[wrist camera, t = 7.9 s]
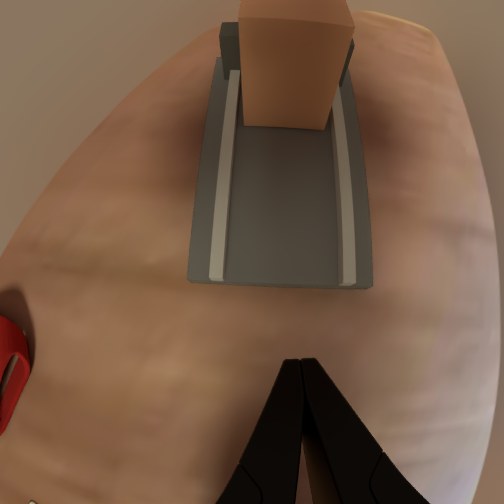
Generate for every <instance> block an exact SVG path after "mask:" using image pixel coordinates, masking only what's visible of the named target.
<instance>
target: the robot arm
mask: <svg viewBox="0 0 504 504" xmlns="http://www.w3.org/2000/svg"><path fill="white" fill-rule="evenodd" d="M301 443H303V448H304V454H305V460H306V465H307V471H308V477H309V482H310V488H311V494H312V500H313V504H430V503H429V502H428V501H427V500H426V499H425V498H424V497H423V496H422V495H421V494H420V493H419V492H418V491H417V490H416V489H415V488H414V487H413V486H412V485H411V484H410V483H409V482H408V481H407V480H406V479H405V477H404V476H403V475H402V474H401V473H400V471H399V470H398V469H397V468H396V466H395V465H394V464H393V463H392V461H391V460H390V459H389V457H388V456H387V455H386V453H385V452H383V449H382V448H381V447H380V445H379V444H378V443H377V441H376V440H375V439H374V437H373V436H372V434H371V433H370V432H369V430H368V429H367V428H366V426H365V425H364V424H363V422H362V421H361V419H360V418H359V417H358V415H357V414H356V413H355V411H354V410H353V409H352V407H351V406H350V404H349V403H348V402H347V400H346V399H345V398H344V396H343V395H342V393H341V392H340V391H339V389H338V388H337V387H336V385H335V384H334V382H333V381H332V380H331V378H330V377H329V376H328V374H327V373H326V371H325V370H324V369H323V367H322V366H321V365H320V363H319V362H318V360H317V359H315V358H302V359H301V360H299V359H285V360H284V361H283V363H282V366H281V368H280V371H279V373H278V376H277V378H276V380H275V383H274V385H273V387H272V390H271V392H270V394H269V397H268V399H267V401H266V404H265V406H264V408H263V411H262V413H261V415H260V417H259V420H258V422H257V424H256V426H255V429H254V431H253V433H252V435H251V437H250V439H249V442H248V444H247V446H246V448H245V450H244V452H243V454H242V456H241V459H240V461H239V464H238V465H237V466H236V468H235V471H234V473H233V475H232V477H231V478H230V480H229V482H228V484H227V486H226V487H225V489H224V491H223V493H222V494H221V496H220V497H219V499H218V500H217V502H216V503H215V504H295V500H296V492H297V483H298V474H299V464H300V454H301Z"/></svg>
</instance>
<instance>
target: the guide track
mask: <svg viewBox="0 0 504 504" xmlns="http://www.w3.org/2000/svg"><path fill="white" fill-rule="evenodd" d="M219 39H220V48H221V56H222V57H217V59H216V64H215V70H214V75H213V81H212V86H211V92H210V98H209V104H208V110H207V116H206V122H205V129H204V135H203V142H202V149H201V156H200V163H199V170H198V178H197V186H196V194H195V202H194V211H193V220H192V229H191V239H190V249H189V260H188V271H187V280H189V281H190V282H191V283H206V284H225V285H246V286H269V287H296V288H331V289H367V288H370V287H372V286H373V264H372V242H371V226H370V212H369V200H368V190H367V180H366V172H365V163H364V155H363V148H362V141H361V134H360V128H359V122H358V116H357V110H356V104H355V99H354V93H353V88H352V83H351V78H350V74H349V69H348V65H349V62H350V58H351V55H352V52H353V49H354V42H353V39H352V40H351V43H350V47H349V50H348V54H347V57H346V60H345V64H344V67H343V70H342V74H341V77H340V80H339V84H338V87H337V90H336V93H335V97H334V100H333V103H332V106H331V110H330V113H329V116H328V119H327V122H326V126H325V129H324V130H314V129H301V128H286V127H267V126H244V116H243V98H242V80H241V62H240V43H239V25H238V22H225V23H222V25H221V30H220V34H219Z"/></svg>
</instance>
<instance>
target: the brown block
mask: <svg viewBox="0 0 504 504" xmlns="http://www.w3.org/2000/svg"><path fill="white" fill-rule="evenodd" d="M238 25H239V43H240V62H241V80H242V98H243V116H244V126H267V127H286V128H301V129H314V130H324V129H325V126H326V122H327V119H328V116H329V113H330V110H331V106H332V103H333V100H334V97H335V93H336V90H337V87H338V84H339V80H340V77H341V74H342V70H343V67H344V64H345V60H346V57H347V54H348V50H349V47H350V43H351V40H352V36H353V33H354V29H355V26H354V23H353V20H352V17H351V14H350V11H349V8H348V6H347V3H346V0H241V3H240V9H239V15H238Z"/></svg>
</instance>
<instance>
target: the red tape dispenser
mask: <svg viewBox="0 0 504 504" xmlns="http://www.w3.org/2000/svg"><path fill="white" fill-rule="evenodd" d="M14 354H17V355H18V356H19V358H18V360H17V362H16V364H15V367H14V369H13V372H12V374H11V376H10V379H9V381H8V384H7V386H6V389H5V392H4V394H3V397H2V399H1V402H0V436H1V435H2V433H3V432H4V431H5V429H6V427H7V425H8V423H9V421H10V418H11V416H12V413H13V411H14V409H15V406H16V404H17V402H18V400H19V397H20V395H21V393H22V391H23V388H24V386H25V384H26V382H27V380H28V378H29V375H30V361H29V354H28V345H27V340H26V337H25V335H24V334H23V332H22V331H21V329H20V328H19V327H18V326H16V325H15V324H14V323H13V322H12V321H11V320H9V319H8V318H6V317H4V316H1V315H0V382H1V379H2V375H3V372H4V370H5V368H6V366H7V364H8V362H9V360H10V358H11V357H12V355H14Z"/></svg>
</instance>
